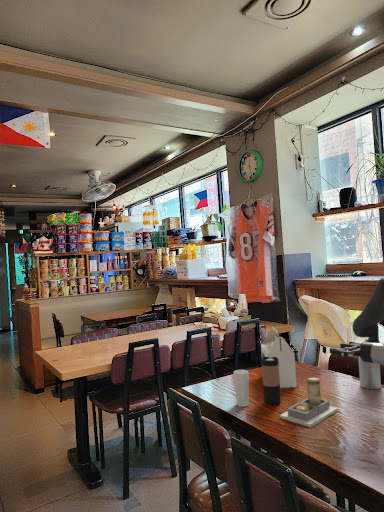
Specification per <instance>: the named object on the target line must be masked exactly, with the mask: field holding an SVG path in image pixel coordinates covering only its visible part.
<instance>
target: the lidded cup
mask: <svg viewBox="0 0 384 512" xmlns="http://www.w3.org/2000/svg"><path fill="white" fill-rule="evenodd" d="M306 382H307V383H306V384H307V398H308V400H309V404H313V405H316V406H318V405H320V404H321V399H322V395H321V383H320V378H318V377H309V378H307V379H306Z"/></svg>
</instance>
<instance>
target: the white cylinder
mask: <svg viewBox="0 0 384 512" xmlns="http://www.w3.org/2000/svg"><path fill="white" fill-rule="evenodd" d="M233 385H234V391H235V398H236V405H237V407H240V408H245V407H248V406H249V404H250V401H249V399H250V397H249V395H250V393H249V391H250V388H249V387H250V375H249V370H246V369H237V370H234V371H233Z"/></svg>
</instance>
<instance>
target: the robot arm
mask: <svg viewBox="0 0 384 512" xmlns="http://www.w3.org/2000/svg"><path fill="white" fill-rule="evenodd" d="M382 321H384V277H381V278H380V279H378V282H377V283H376V285H375V288H374V291H373V293H372V295H371V297H370V299H369V300H368V302H366V305H365V307H364V308H363V309H362V311H361V312H360V314H358V316H357V317H356V318H355V319H354V320H353V324H352V332H353V334H354V335H355V336H356V337H358V338H367V339H366V340H365V341H363V342H360V343H359V342H353V343H352V342H351V343H344V342H342V343H340V345H339V346H340V348H336V347H330V348H329V354H330V355H337V358H344V359H350V360H351V359H354V358H358V370H359V385H360V386H359V387H361V388H362V389H368V390H378V389H381V388H382V383H381V366H380V365H384V343H380V341H379V338H380V337H379V336H380V335H379V334H380V333H379V329H380V328H379V324H380V323H381V322H382Z"/></svg>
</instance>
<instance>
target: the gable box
mask: <svg viewBox="0 0 384 512" xmlns="http://www.w3.org/2000/svg"><path fill="white" fill-rule="evenodd" d="M269 329H270V331H269V332H268V333H267V335H266V337H265V338H264V340H263V342H262V343H261V344H260V349H261V359H262V358H263V357H269V358H273V357H277V358H278V362H279V376H280V389H288V388H290V389H291V387H292V388H297V374H296V360H295V359H296V358H295V357H296V356H295V352H294V350H293V349H292V348H291V346H290V345H289V344H288V342H287V341H286V340H285V338H284V337H282V336H280V331H279V329H278V328H276V327H275V326H273V325H272V327H271V328H269Z"/></svg>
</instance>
